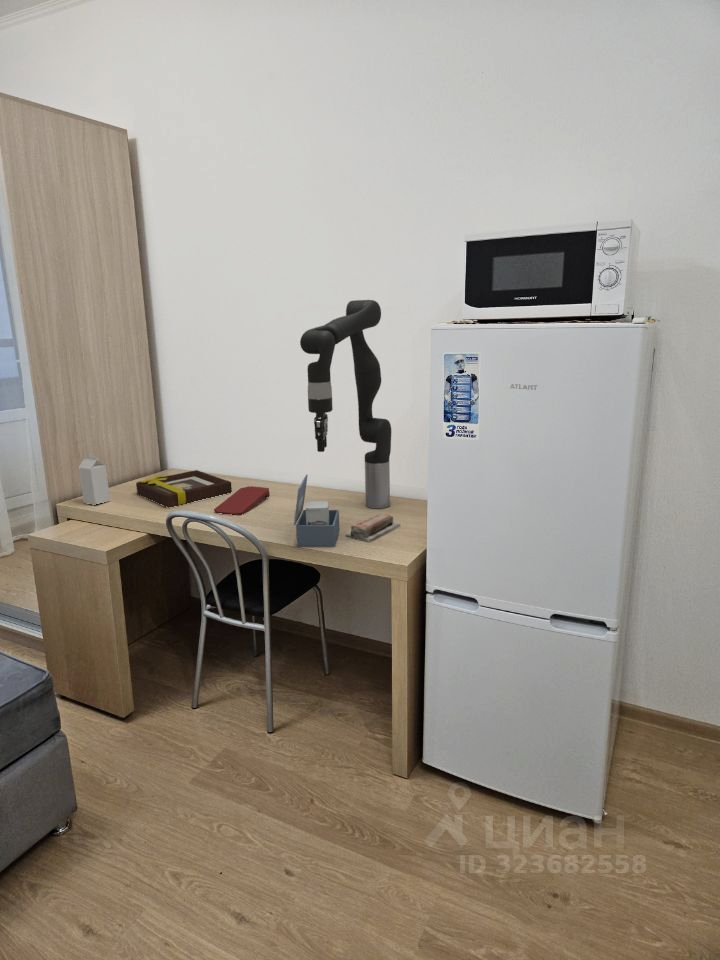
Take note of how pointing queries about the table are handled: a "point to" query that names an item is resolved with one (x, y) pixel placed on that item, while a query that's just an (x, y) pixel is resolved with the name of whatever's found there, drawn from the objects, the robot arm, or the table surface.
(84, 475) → the milk carton
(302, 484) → the lid
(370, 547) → the table surface
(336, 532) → the open blue-gray box
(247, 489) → the red wedge
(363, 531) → the packaged product
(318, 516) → the supplement box
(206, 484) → the brown gift box
